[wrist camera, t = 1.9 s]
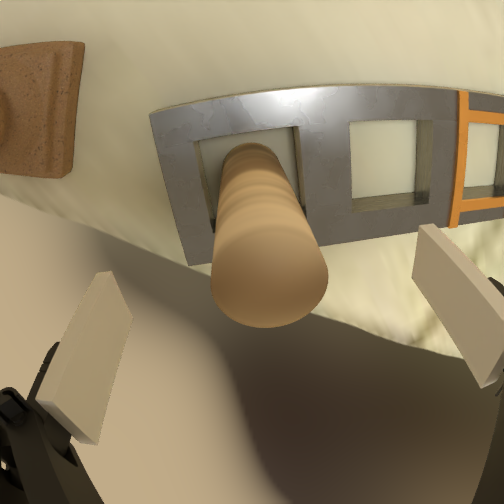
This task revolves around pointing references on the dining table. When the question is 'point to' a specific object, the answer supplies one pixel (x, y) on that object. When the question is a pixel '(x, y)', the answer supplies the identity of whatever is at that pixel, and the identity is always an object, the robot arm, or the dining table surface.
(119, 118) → the dining table surface
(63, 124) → the candle holder
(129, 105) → the dining table surface
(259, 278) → the peg
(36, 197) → the dining table surface
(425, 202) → the grey peg board
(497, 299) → the robot arm
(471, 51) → the dining table surface
